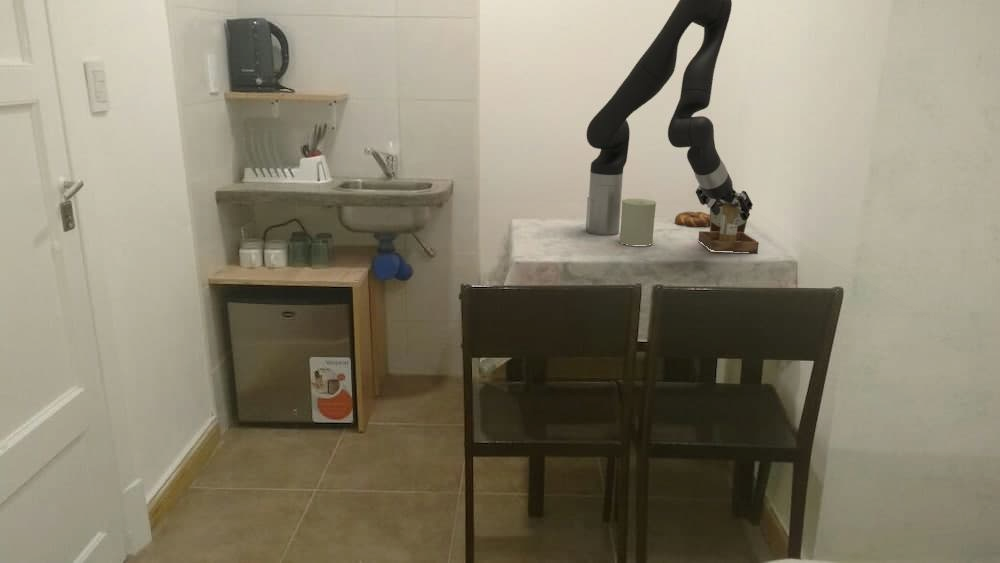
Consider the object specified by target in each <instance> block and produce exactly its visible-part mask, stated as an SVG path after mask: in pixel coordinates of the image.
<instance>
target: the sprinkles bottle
mask: <svg viewBox="0 0 1000 563" xmlns="http://www.w3.org/2000/svg"><path fill="white" fill-rule="evenodd" d="M735 201H736V199H735V198H734V200H733V201H732V204H734V202H735ZM739 206H740V204H738V207H739ZM738 214H739V211H737V210H736V209H732V208H730V207H729V206H728V205H725V204H723V209H722V216H721V225H720V237H719V241H727V242H735V240H736V234H737V225H738Z"/></svg>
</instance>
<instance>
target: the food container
mask: <svg viewBox="0 0 1000 563" xmlns="http://www.w3.org/2000/svg"><path fill="white" fill-rule="evenodd" d="M718 205H719V207H720V212H719V214H718V215H717V216H716V215H714V213H713V212H712V211H711V209H710V207H708V206H707V208H708V209H709V215H710V227H709V231H712V232H720V225H721V216H722V209H723V204H719V203H718ZM739 207H740V208H741V205H740V206H739ZM752 210H753V206H752V207H751V209H750V211H752ZM747 222H748V219H747V220H746V221H743V220H742V218H741V216H740V213H739V214H738V225H737V232H743V233H745V231H746V227H747Z"/></svg>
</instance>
